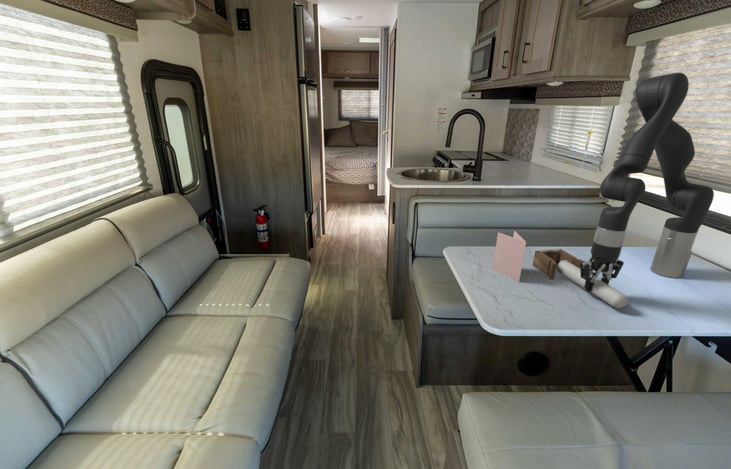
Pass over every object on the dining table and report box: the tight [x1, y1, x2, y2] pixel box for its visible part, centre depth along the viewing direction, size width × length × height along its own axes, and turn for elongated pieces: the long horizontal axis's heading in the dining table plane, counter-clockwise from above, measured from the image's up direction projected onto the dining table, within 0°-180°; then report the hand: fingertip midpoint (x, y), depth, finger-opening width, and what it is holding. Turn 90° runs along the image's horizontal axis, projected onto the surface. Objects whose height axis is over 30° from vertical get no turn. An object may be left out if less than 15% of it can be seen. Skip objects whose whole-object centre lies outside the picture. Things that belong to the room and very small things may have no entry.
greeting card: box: [492, 230, 528, 283], centre depth 127 cm, size 11×7×15 cm, turn 178°
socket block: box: [532, 248, 586, 281], centre depth 132 cm, size 13×12×6 cm
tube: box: [555, 260, 628, 309], centre depth 117 cm, size 5×5×25 cm
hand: (595, 290), depth 115 cm, fingers closed on tube, 4 cm apart
